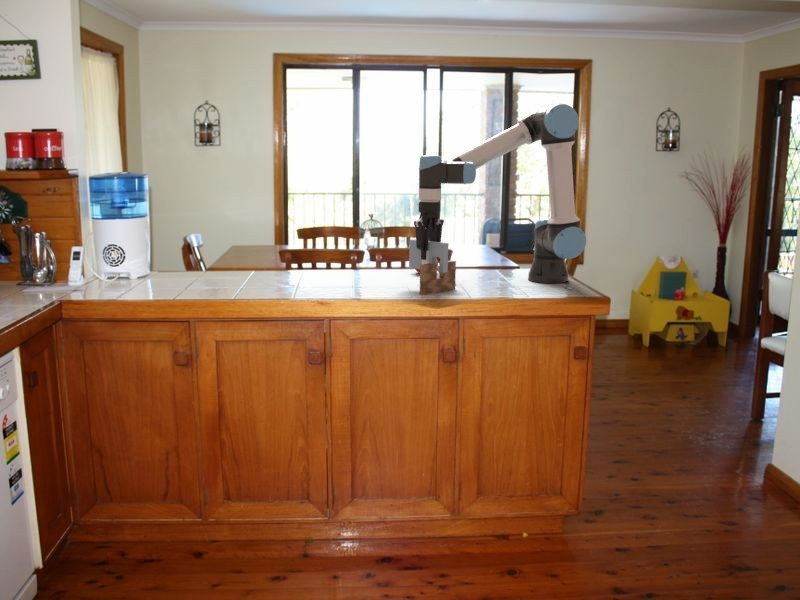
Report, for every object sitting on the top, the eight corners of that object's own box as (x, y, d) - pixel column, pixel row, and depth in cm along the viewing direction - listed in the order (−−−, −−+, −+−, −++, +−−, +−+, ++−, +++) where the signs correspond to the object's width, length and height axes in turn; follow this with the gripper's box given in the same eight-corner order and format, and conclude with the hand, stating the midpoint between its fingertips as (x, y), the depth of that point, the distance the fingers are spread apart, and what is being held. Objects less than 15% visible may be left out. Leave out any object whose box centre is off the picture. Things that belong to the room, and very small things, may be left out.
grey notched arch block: (409, 267, 270) (409, 239, 268) (413, 266, 272) (414, 239, 270) (443, 272, 259) (443, 243, 257) (447, 272, 261) (448, 243, 259)
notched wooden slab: (449, 288, 270) (450, 260, 269) (455, 289, 269) (455, 261, 267) (419, 293, 259) (420, 264, 257) (424, 294, 257) (425, 265, 256)
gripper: (436, 199, 269) (434, 265, 274) (406, 201, 258) (405, 269, 263) (452, 200, 264) (450, 267, 269) (422, 202, 253) (421, 271, 257)
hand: (428, 268), depth 266 cm, fingers closed on grey notched arch block, 2 cm apart
